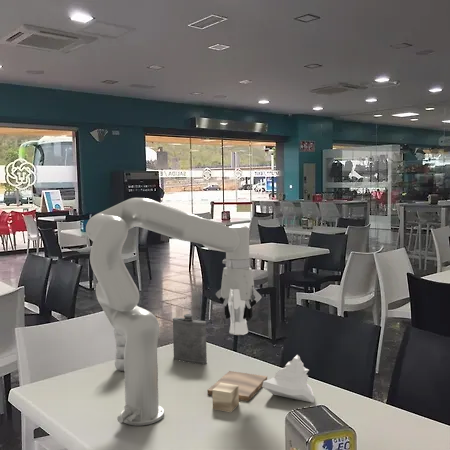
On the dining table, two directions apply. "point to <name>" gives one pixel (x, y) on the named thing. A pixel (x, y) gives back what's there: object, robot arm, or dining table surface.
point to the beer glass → (237, 313)
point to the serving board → (242, 383)
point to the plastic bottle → (119, 350)
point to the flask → (189, 340)
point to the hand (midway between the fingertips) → (238, 318)
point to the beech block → (225, 397)
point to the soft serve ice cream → (291, 382)
